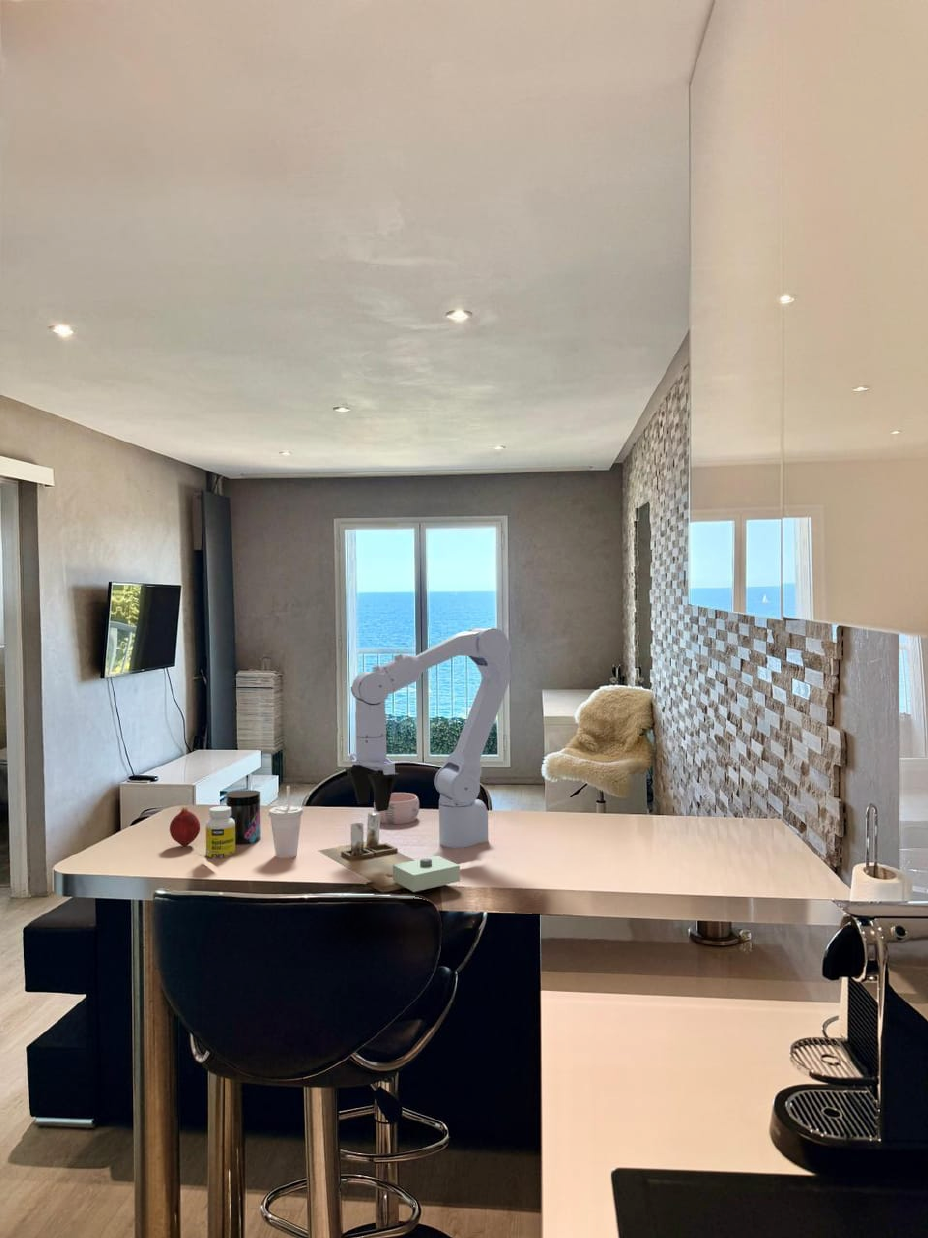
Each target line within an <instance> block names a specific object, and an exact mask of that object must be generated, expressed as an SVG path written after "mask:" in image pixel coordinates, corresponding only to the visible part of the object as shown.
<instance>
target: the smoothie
mask: <svg viewBox="0 0 928 1238" xmlns="http://www.w3.org/2000/svg"><path fill="white" fill-rule="evenodd" d="M290 787H291V786H289V785H288V786H286V805H281V806H274V807H272V808H270V809H268V817H269V818H270V823H271V830H272V831H271V832H272V836H273V837H272V840H273V845H274V853H275V857H276V858H278V859H279V858H280V859H290V858H294V857H296V856H297V855H298V849H299V839H300V829H301V821H302V816H303V814H304V811H303V807H302V806H298V805H291V788H290Z"/></svg>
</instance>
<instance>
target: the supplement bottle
mask: <svg viewBox="0 0 928 1238" xmlns="http://www.w3.org/2000/svg"><path fill="white" fill-rule="evenodd" d="M208 815H209V817H210V819H207V821H206V823H205V860H206V861H207V862H209V863H212V861H211V860H210V859H224V858H229V857H232V856H234V855H235V854H236V845H235V821H234V820H233V819H232V818H230V816H231V807H228V806H226V805H218V806H213V807H210V808H209V813H208ZM208 858H209V859H208Z"/></svg>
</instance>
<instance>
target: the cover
mask: <svg viewBox="0 0 928 1238" xmlns="http://www.w3.org/2000/svg"><path fill="white" fill-rule="evenodd" d="M413 860H414V861H409V862H404V863H399V864H394V865H393V881H394V882H396V883H398V884H400V885H402V886H404V887H406V888H405V889H407V890H410V891H411V892H413V893H416V892H421V891H424V890H427V889H428V890H429V889H433V888H437V887H442V886H446V885H450V884H451V885H452V884H454V883H460V881H461V866H460V864H458V863H456V862H453V861H451V860H448V859H446V858H444V857H442V856H439V855H434V856H429V857H424V858H421V859H419V858H418V859H413Z"/></svg>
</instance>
